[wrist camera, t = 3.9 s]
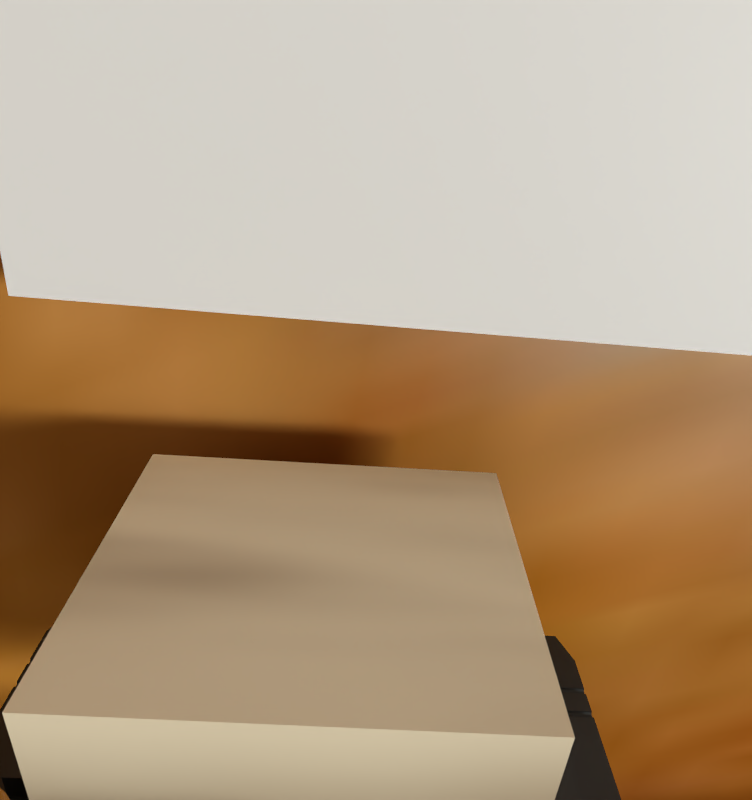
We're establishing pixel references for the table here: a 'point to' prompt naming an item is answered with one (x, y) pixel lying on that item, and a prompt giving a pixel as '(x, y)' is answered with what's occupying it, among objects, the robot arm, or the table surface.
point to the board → (387, 162)
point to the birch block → (296, 645)
